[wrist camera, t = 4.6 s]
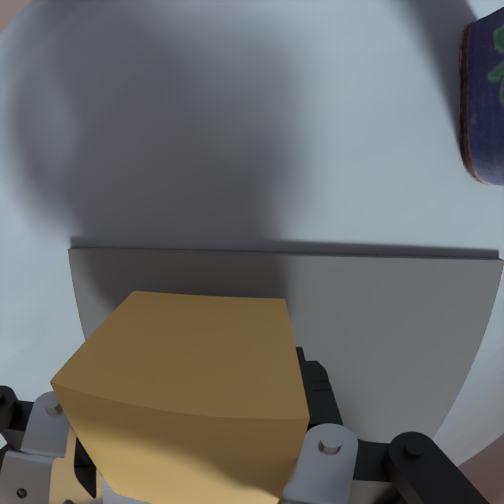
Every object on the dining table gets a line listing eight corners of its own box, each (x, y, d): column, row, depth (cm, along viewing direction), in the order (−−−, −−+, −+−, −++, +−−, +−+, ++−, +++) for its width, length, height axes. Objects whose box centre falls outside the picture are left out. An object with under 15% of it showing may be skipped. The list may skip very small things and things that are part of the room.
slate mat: (73, 246, 10) (67, 249, 10) (499, 258, 10) (504, 260, 10) (162, 508, 16) (161, 511, 16) (379, 503, 16) (379, 506, 16)
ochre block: (133, 290, 9) (49, 381, 4) (284, 298, 9) (309, 418, 4) (153, 398, 10) (115, 493, 5) (273, 408, 10) (279, 515, 5)
